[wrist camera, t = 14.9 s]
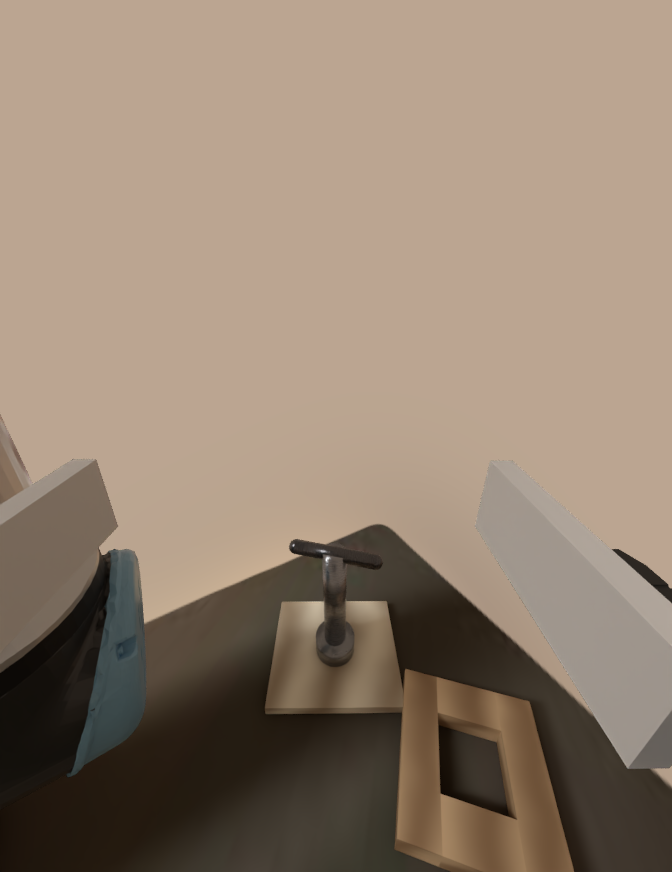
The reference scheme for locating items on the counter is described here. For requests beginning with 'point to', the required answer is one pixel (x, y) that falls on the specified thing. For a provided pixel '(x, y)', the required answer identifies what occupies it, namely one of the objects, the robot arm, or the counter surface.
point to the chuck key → (335, 596)
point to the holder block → (462, 822)
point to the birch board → (334, 686)
